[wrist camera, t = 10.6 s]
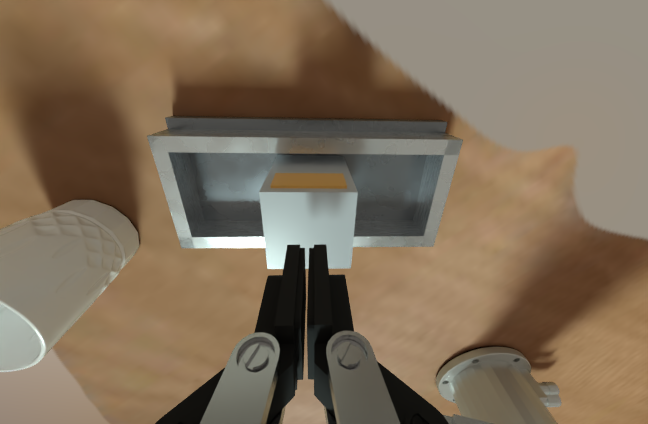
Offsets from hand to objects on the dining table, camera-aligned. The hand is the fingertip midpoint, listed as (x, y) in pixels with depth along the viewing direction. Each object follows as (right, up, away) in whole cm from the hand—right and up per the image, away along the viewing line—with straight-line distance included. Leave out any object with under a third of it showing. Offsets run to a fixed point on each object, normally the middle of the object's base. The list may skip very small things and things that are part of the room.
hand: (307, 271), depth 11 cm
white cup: (-19, +1, +12) cm, 23 cm away
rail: (0, +5, +10) cm, 11 cm away
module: (0, +5, +9) cm, 10 cm away
